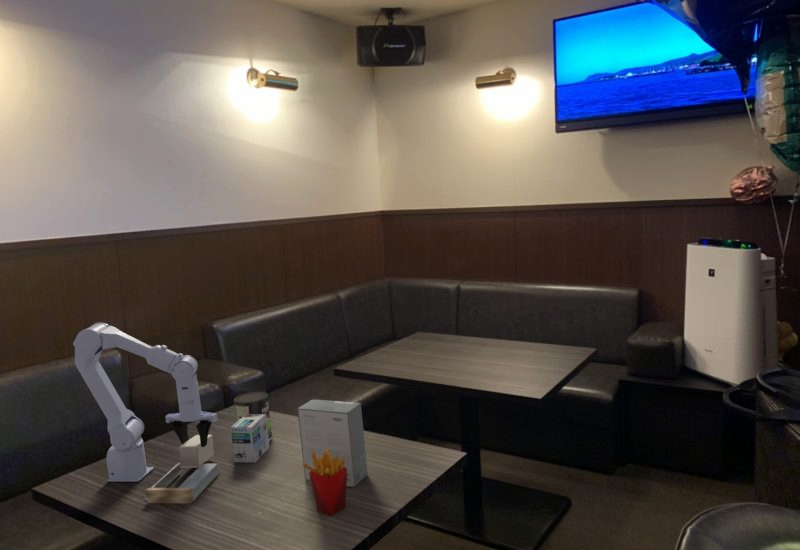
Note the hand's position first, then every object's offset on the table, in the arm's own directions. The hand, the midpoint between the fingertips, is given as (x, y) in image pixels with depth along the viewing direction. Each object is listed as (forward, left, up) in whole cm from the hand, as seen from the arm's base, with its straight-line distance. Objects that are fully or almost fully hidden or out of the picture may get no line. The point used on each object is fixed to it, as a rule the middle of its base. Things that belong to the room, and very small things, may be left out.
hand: (195, 445), depth 169 cm
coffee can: (+10, +19, -7) cm, 22 cm away
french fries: (+45, -23, -7) cm, 51 cm away
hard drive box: (+42, -6, -7) cm, 43 cm away
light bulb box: (+13, +8, -7) cm, 17 cm away
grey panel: (-4, -11, -7) cm, 13 cm away
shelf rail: (+2, -19, -7) cm, 20 cm away
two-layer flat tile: (+6, -11, -7) cm, 14 cm away
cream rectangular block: (0, 0, -5) cm, 5 cm away
